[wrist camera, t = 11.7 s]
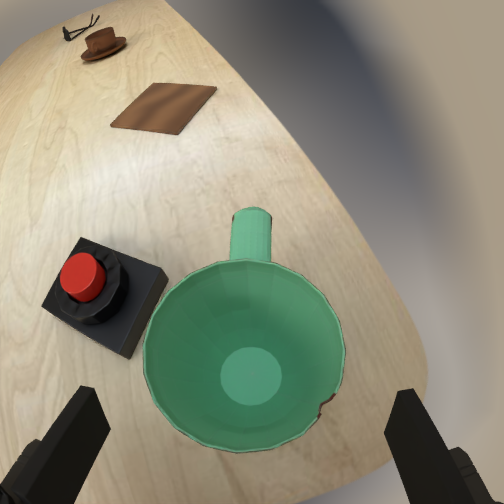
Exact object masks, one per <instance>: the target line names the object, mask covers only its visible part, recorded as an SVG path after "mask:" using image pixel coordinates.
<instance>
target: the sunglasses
mask: <svg viewBox="0 0 504 504" xmlns="http://www.w3.org/2000/svg"><path fill="white" fill-rule="evenodd" d="M99 17H100V16H99V15H98V17H97V19H96V21H95V22H94V24H93V25H91V24H92V19H93V14H92V17H91V23H90V25H89V26H88V27H85V28H81V29H78V30H75V31H72V32H68V30H66V29H65V27H63V33H64V39H66V40H67V41H70V40H71V38H70V35H69V34H70V33H73V32H76V31H79V30H83V29H84V30H83V31H81V32H80V33H78V34H77V35H76V36H74V37H73V38H72V40H73V39H74V38H75V37H77V36H78V35H80V34H81V33H82V32H84V31H85V30H87V29H88V28H89V27H92V26H94V25H95V23H96V22H97V20H98V19H99Z"/></svg>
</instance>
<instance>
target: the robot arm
mask: <svg viewBox="0 0 504 504" xmlns="http://www.w3.org/2000/svg"><path fill="white" fill-rule="evenodd" d="M110 430H111V428H110V426H109V424H108V421H107V419H106V417H105V414H104V412H103V409H102V407H101V404H100V402H99V399H98V397H97V394H96V391H95V389H94V388H91V387H86V386H80V387H79V389H78V390H77V391H76V393H75V394H74V395H73V397H72V398H71V399H70V401H69V402H68V404H67V405H66V406H65V408H64V409H63V411H62V412H61V413H60V415H59V416H58V418H57V419H56V420H55V422H54V423H53V425H52V426H51V428H50V429H49V430H48V432H47V433H46V435H45V436H44V438H43V439H42V441H40V440H37V439H35V440H33V441H32V442H31V443H29V444H28V445H27V446H26V447H25V449H24V450H23V452H22V455H20V456H19V457H18V459H17V461H16V462H15V463H14V465H13V466H12V468H11V469H10V471H9V472H8V474H7V475H6V477H5V478H4V480H3V481H2V483H1V484H0V504H74V502H75V500H76V498H77V496H78V494H79V492H80V490H81V488H82V486H83V484H84V482H85V480H86V478H87V475H88V473H89V471H90V469H91V467H92V465H93V463H94V461H95V459H96V457H97V455H98V453H99V451H100V449H101V447H102V446H103V444H104V442H105V440H106V438H107V436H108V434H109V432H110ZM384 435H385V437H386V440H387V442H388V445H389V448H390V450H391V453H392V455H393V458H394V461H395V463H396V466H397V468H398V471H399V474H400V477H401V479H402V482H403V485H404V488H405V491H406V494H407V496H408V499H409V502H410V504H504V503H501V502H495V501H494V500H493V499H492V497H491V496H490V494H489V492H488V490H487V489H486V486H485V484H484V483H483V481H482V479H481V477H480V475H479V473H477V470H476V468H475V466H474V465H473V463H472V461H471V459H470V457H469V456H468V454H467V453H466V452H464V451H463V450H462V449H461V448H459V447H456V448H453V449H451V450H448V449H447V447H446V445H445V443H444V441H443V439H442V437H441V436H440V434H439V432H438V430H437V428H436V427H435V425H434V423H433V421H432V420H431V418H430V416H429V414H428V413H427V411H426V409H425V407H424V406H423V404H422V402H421V401H420V399H419V397H418V395H417V394H416V392H415V390H414V389H413V388H412V389H407V390H401V391H398V392H397V395H396V399H395V402H394V405H393V408H392V411H391V414H390V417H389V420H388V423H387V425H386V428H385V431H384Z"/></svg>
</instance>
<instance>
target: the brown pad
mask: <svg viewBox="0 0 504 504" xmlns="http://www.w3.org/2000/svg"><path fill="white" fill-rule="evenodd" d="M216 90H217V87H214V86H203V85H190V84H173V83H153V84H152V85H150V86H149V87H148V88H147V89H146V90H145V91H144V92H143V93H142V94H141V95H140V96H138V97H137V98H136V99H135V100H134V101H133V102H132V103H131V104H130V105H129V106H128V107H127V108H126V109H125V110H124V111H123V112H122V113H121V114H120V115H119V116H118V117H117V118H116V119H115V120H114V121H113V122H112V123H111V124H110V126H111V127H116V128H126V129H135V130H144V131H152V132H160V133H167V134H174V135H178V134H179V133H180V132H181V130H182V129H183V128H184V127H185V125H186V124H187V123H188V122H189V121H190V119H191V118H192V117H193V116H194V115H195V114H196V112H197V111H198V110H199V109H200V108H201V107H202V106H203V104H204V103H205V102H206V101H207V100H208V99H209V98H210V97H211V95H212V94H213V93H214V92H215V91H216Z"/></svg>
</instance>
